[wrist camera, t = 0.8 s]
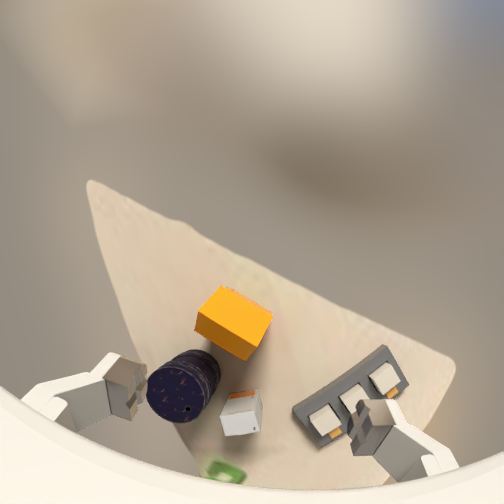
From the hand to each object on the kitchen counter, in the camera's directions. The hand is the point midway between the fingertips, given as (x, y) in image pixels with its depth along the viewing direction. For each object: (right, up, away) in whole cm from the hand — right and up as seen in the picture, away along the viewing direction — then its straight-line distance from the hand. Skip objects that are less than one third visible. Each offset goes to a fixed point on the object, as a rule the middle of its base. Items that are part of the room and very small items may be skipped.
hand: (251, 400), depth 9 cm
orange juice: (-2, -7, +45) cm, 45 cm away
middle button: (+20, -23, +39) cm, 49 cm away
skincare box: (-1, -24, +42) cm, 48 cm away
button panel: (+20, -24, +41) cm, 51 cm away
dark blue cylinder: (-11, -19, +43) cm, 48 cm away
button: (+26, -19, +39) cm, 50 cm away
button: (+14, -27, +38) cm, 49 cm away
